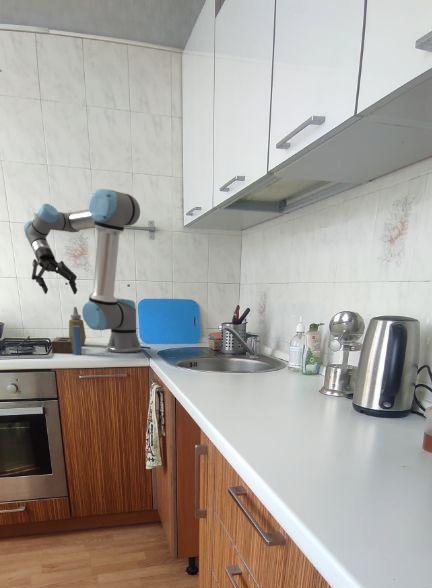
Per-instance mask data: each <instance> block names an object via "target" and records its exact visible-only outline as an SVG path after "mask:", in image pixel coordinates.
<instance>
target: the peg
mask: <svg viewBox="0 0 432 588" xmlns="http://www.w3.org/2000/svg"><path fill="white" fill-rule="evenodd" d="M72 334H73V347H74V352H73V355H76V356H81V355H83V350H82V349H83V347H82V346H81V333H80V326H72Z"/></svg>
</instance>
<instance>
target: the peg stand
mask: <svg viewBox="0 0 432 588" xmlns="http://www.w3.org/2000/svg"><path fill="white" fill-rule="evenodd" d="M50 343H51V353H52V354H74V347H73V337H69V336H68V337H67V336H66V337H65V336H64V337H63V336H56V337H55V338H54V339H53V340H51V342H50Z"/></svg>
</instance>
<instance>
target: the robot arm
mask: <svg viewBox="0 0 432 588" xmlns="http://www.w3.org/2000/svg"><path fill="white" fill-rule="evenodd" d="M89 199H90V200H89V201H88V208H87V209H81V210H75V211H72V212H71V211H70V212H61V211H58V209H57V208H56V207H54V206H53V205H51V204H50V203H43V204H42V205H41V206H40V208H39V209H38V210H37V213H36V215H35V216H34V219H33V220H29V221H27V222H26V223H24V225H23V231H24V234H25V237H26V239H27V241H28V243H29V245H30V246H31V250H32V251H33V254H34V257H35V258H36V259H35V258H34V259H33V260H32V264H31V265H32V274H31V280H32V281H35V282H36V283H38V286H39V287H41V289H42V291H43V293H44V295H47V293H48V291H49V288H48V286H47V283H46V282H45V280H44V277H43V275H44V273H45V272H49V273H50V272H51V273H55V274H57V275H58V274H59V275H60V276H62V277H63V278H64V279H65V280H68V284H69V286H70V289H71V291H72V293H73V295H77V292H78V288H77V283H76V280H77V278H78V276H77V275H76V274H75V273H74V272H73V271H72V270H71V269H70V268H69V267H68V266H67V265H66V264H65V262H64V261H63V260H60V261H59V262H58V261H57V260H56V256H55V255H54V253H53V250H52V248H51V245H50V244H49V242H48V240H47V237H48V236H49V234H50V232H51V231H59V232H61V231H62V232H67V233H79V232H80V231H82V230H88V229H96V231H97V235H96V248H95V249H96V250H95V263H94V274H93V276H94V278H93V291H92V293H90V294H89V295H88V302H86V303H84V305H83V306H82V311H81V312H82V313H81V315H82V318H83V322H85V324H86V325H87V327H88V328H89V329H91V330H93V331H105V330H110V337H109V341H108V343H107V351H108V352H111V353H120V354H121V353H122V354H123V353H124V354H127V353H128V354H131V353H139V352H141V351H142V350H141V349H148V350H151V348H152V347H151V346H150V347H149V346H142V345H141V344H140V341H139V337H138V334H137V306H136V302H135V301H134V300H133V299H125V298H118V297H117V298H116V297H115V285H116V275H117V265H118V254H119V243H120V235H121V234H122V233H124V231H125V226H126V227H129V226H133V225H135V224H136V223H137V222H138V221H139V219H140V216H141V208H140V204H139V202H138V200H137V199H136V198H135V197H134V196H133V195H131V194H128V193H124V192H121V191H116V190H112V189H111V188H110V189H107V188H100V189H97V190H96V191H95V192H93V193H92V195H91V196H90V198H89ZM38 266H39V267H40V268H41V269H40V270H39V273H38V274H37V271H38Z"/></svg>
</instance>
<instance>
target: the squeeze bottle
mask: <svg viewBox="0 0 432 588" xmlns="http://www.w3.org/2000/svg"><path fill="white" fill-rule="evenodd" d="M72 326H80V333H81V347H82V346H85V342H86V339H87V336H86V331H85V324H84V319H82V314H79V312H78V308H77V306H73V311H72V314H70V319H69V320H68V337H73V334H72Z"/></svg>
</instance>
